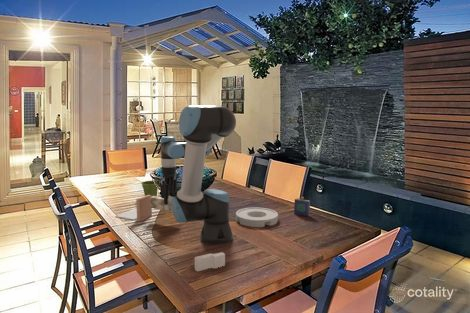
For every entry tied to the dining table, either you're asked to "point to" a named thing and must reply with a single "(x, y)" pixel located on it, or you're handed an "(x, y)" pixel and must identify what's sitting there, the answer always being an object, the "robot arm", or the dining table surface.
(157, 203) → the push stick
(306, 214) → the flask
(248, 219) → the ashtray
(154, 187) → the plant pot
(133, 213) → the mat
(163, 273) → the dining table surface
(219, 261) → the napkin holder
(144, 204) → the tile
